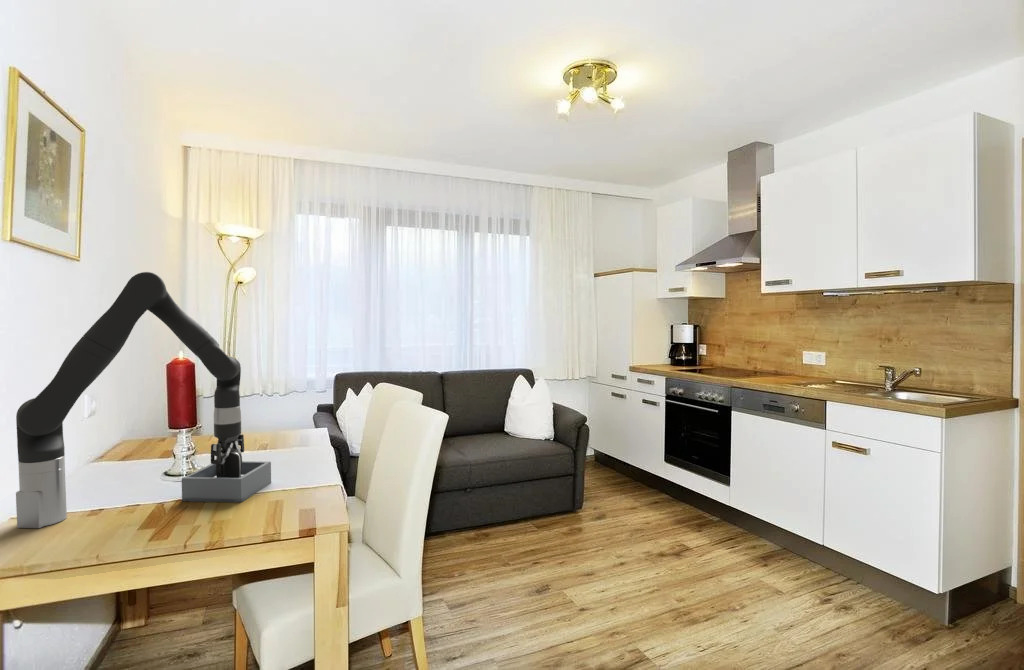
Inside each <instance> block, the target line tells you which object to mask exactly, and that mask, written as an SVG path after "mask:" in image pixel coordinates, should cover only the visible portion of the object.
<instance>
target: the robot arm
mask: <svg viewBox="0 0 1024 670" xmlns="http://www.w3.org/2000/svg"><path fill="white" fill-rule="evenodd" d="M147 311H149V312H150V313H152V314H153V315H154V316H155V317H156V318H158V319H159V320H161V322H162V323H164V324H165V326H167V327H168V328H169V329H170V331H171V332H172V333H173V334H174V335H175V336H176V337H177V338H178V339H179V340H180V341H181V343H182V344H184V346H185V347H187V348H188V349H189V351H190V352H192V353H193V354H194V356H196V357H197V358H198V359H199V360H200V361H201V363H202V365H203V366H204V367H205V369H207V371H208V372H209V373H210V374H211V375H212V376H213V377H214V378H216V389H215V390H214V394H213V395H214V396H213V397H214V398H213V404H214V410H213V437H214V438H217V443H211V444H210V464H216V476H220V477H222V476H224V475H225V467H224V462H225V459H226V458H227V457H228V455H229V454H230V453H231V452H240V453H241V454H242V453H245V437H244V434H243V433H242V411H241V399H240V398H241V397H240V396H241V395H240V386H241V385H240V384H241V375H242V374H241V373H242V370H241V369H242V367H241V364H240V362H239V360H238V359H237V358H236V357H234V356H231V355H230V356H228V355H227V354H226V353H225V352H224V351H223V350H222V348H220V344H219V342H218V341H217V340H216V339H215V338H214V337H213V336H212V335H211V334H210V333H209V332H208V330H206V329H205V328H204V327H203V326H202V325H200V324H199V323H198V322H197V321H196V320H195V319H193V318H192V317H191V316H189V315H188V313H186V312H185V311H184V310H183V309H182V308H181V307H180V306H179V305H178V304H177V303H176V302H175V301H174V299H173V298H172V296H171V295H170V293H169V292H168V290H167V286H166V283H165V282H164V280H163V279H162V277H160V276H159V275H158V274H156V273H154V272H150V271H143V272H139V273H137V274H135V275H133V276H131V277H130V279H128V281H127V283H126V284H125V286H124V288H123V289H122V290H121V292H120V293H119V295H118V296H117V298H116V299H115V300H114V302H113V303H112V304H111V306H110V307H109V308H108V309H107V310H106V311H105V313H103V314H102V315H101V316H100V317H98V319H97V320H96V321H95V322H94V323H93V324H92V325H91V327H90V328H89V329H87V331H86V332H85V333H84V334H83V336H81V338H80V339H79V340H78V341H77V342H76V343H75V344H74V346H73V347H72V349H71V350H70V351H69V353H68V354H67V355H66V357H65V358H64V360H63V362H62V363H61V365H60V367H59V369H58V371H57V372H56V373H55V375H54V377H53V378H52V379H51V381H50V382H49V384H47V385H46V386H45V388H44V389H43V390H41V392H39V394H38V395H36V397H34V398H31V399H28V400H26V401H24V402H23V403H22V404H21V405H19V407H18V409H17V411H16V419H15V421H16V422H15V423H16V441H17V442H16V443H17V444H16V445H17V460H18V487H19V490H17V491H16V492H15V504H16V505H15V508H16V528H18V529H19V528H20V529H42V528H43V527H47V526H50V525H54V524H58V523H60V522H62V521H64V520H65V519H67V517H68V511H67V508H68V507H67V486H66V484H67V483H66V462H65V461H66V459H65V458H66V456H65V455H66V454H65V441H64V432H63V431H64V428H63V427H64V426H63V425H64V424H63V422H64V420H65V419H66V418H67V416H68V414H69V413H70V411H71V409H73V407H74V406H75V404H76V402H77V401H78V399H79V398H80V397H81V396H82V394H83V393H84V392H85V391H86V390H87V388H89V387H90V385H92V384H93V383H94V381H95V380H96V379H97V378H98V377H100V375H101V374H102V373H103V372H104V370H105V369H106V368H107V367H108V366H109V365H110V364H111V362H112V361H113V360H114V359H115V358H116V356H117V355H118V354H119V353H120V352H121V350H122V348H123V347H124V346H125V344H126V342H127V340H128V338H129V337H130V335H131V333H132V331H133V330H134V327H135V326H136V324H137V323H138V321H139V319H140V318H142V316H143V315H144V314H145V313H146V312H147ZM221 453H222V454H221ZM221 457H222V460H221Z"/></svg>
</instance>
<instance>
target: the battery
mask: <svg viewBox="0 0 1024 670" xmlns="http://www.w3.org/2000/svg"><path fill="white" fill-rule="evenodd" d="M221 454H222V453H221ZM221 460H222V457H221ZM242 461H243V456H242V453H240V452H231V453H230V454H229V455H228V457H227V458H226V459H225V462H224V467H225V475H224V476H222V477H220V476H217V478H240V477H241V467H242Z"/></svg>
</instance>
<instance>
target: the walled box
mask: <svg viewBox="0 0 1024 670" xmlns="http://www.w3.org/2000/svg"><path fill="white" fill-rule="evenodd" d="M269 484H272V462H271V461H256V460H255V461H249V460H244V461H243V460H242V467H241V477H240V478H217V476H216V464H211V463H210V464H208V465H206V466H204V467H202V468H200V469H198V470H195V471H193V472H192V473H189V474H188V475H185V476H183V477H182V478H181V502H186V501H189V502H192V503H193V502H195V503H196V502H198V503H200V502H201V503H203V502H204V503H243V502H245V501H246V500H247V499H249V498H251V497H252V496H253V495H255V494H256V493H258V492H259V491H260V490H263V489H264V488H265V487H267V486H268V485H269ZM189 502H188V503H189Z"/></svg>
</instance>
